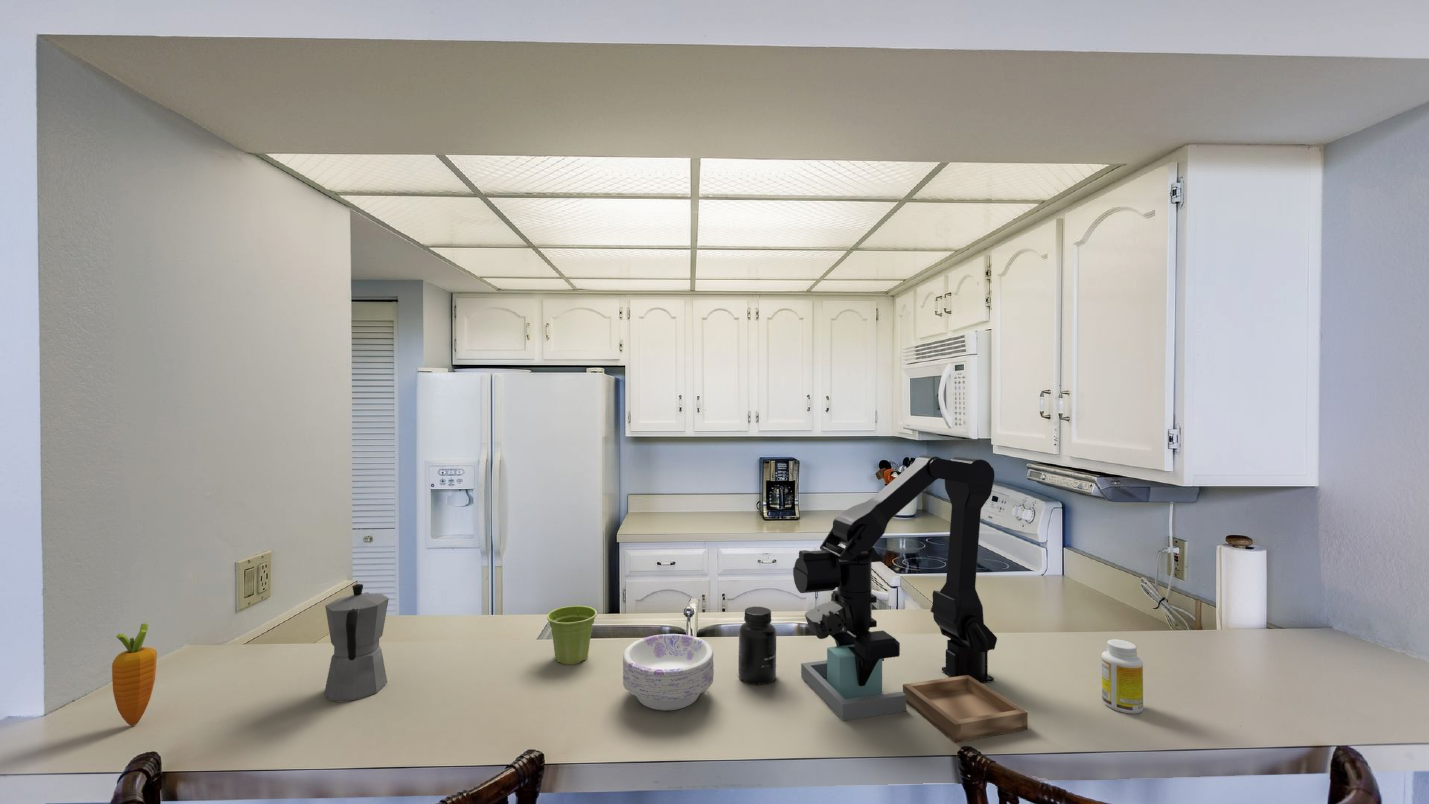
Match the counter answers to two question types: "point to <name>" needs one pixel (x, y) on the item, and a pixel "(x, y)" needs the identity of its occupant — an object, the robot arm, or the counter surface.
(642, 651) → the paper bowls
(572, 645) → the plant pot
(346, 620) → the coffeepot
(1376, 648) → the counter surface
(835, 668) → the tall aqua prism
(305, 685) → the counter surface
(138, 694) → the carrot
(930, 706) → the tray
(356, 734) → the counter surface
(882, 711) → the bay
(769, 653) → the supplement bottle
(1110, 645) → the supplement bottle
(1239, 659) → the counter surface
